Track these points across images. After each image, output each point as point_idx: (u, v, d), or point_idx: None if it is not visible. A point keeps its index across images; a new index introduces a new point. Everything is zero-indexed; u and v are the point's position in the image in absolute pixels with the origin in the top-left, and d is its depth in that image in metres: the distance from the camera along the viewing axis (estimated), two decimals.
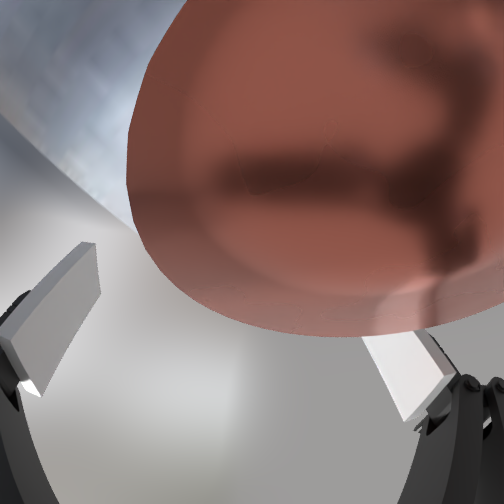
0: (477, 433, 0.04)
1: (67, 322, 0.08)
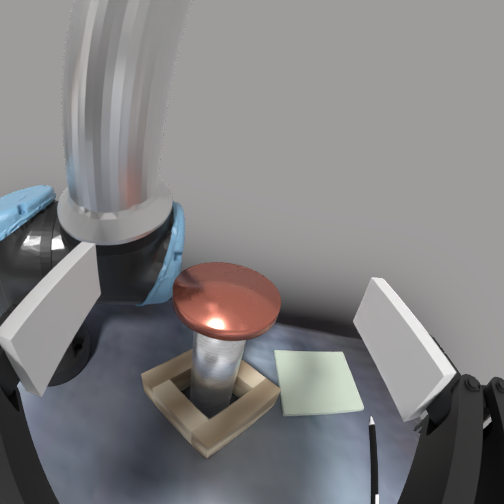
0: (477, 433, 0.04)
1: (67, 321, 0.08)
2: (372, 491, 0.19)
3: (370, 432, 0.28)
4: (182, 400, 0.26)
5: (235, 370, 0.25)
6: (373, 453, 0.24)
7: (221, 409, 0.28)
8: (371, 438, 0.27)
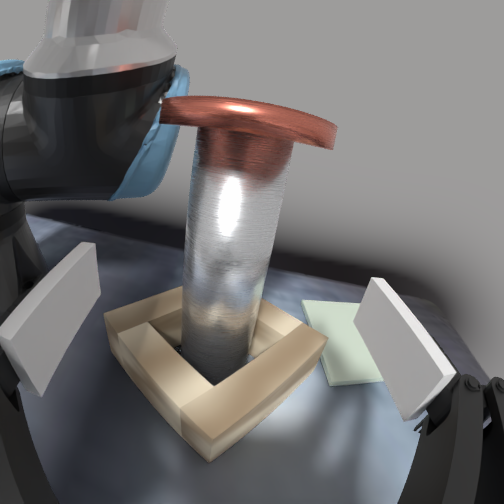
0: (477, 433, 0.04)
1: (67, 321, 0.08)
2: None
3: None
4: (166, 353, 0.15)
5: (261, 276, 0.15)
6: None
7: (233, 373, 0.18)
8: None
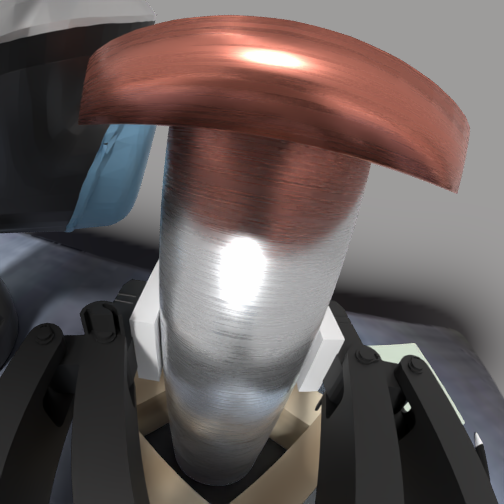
0: (385, 414, 0.05)
1: None
2: None
3: (479, 456, 0.11)
4: (152, 464, 0.09)
5: (290, 392, 0.08)
6: None
7: (242, 472, 0.11)
8: None
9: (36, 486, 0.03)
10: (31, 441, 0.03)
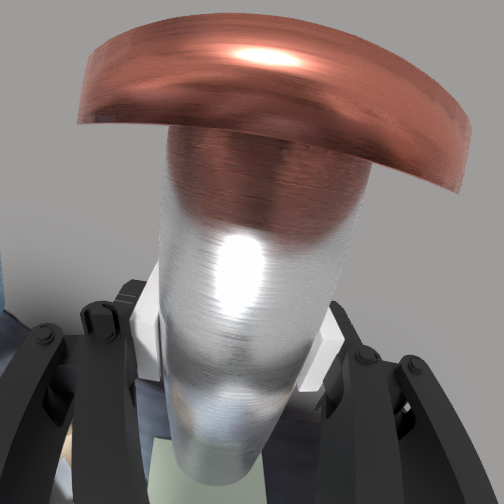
0: (385, 414, 0.05)
1: None
2: None
3: None
4: None
5: (290, 393, 0.08)
6: None
7: (242, 473, 0.11)
8: None
9: (36, 486, 0.03)
10: (31, 441, 0.03)
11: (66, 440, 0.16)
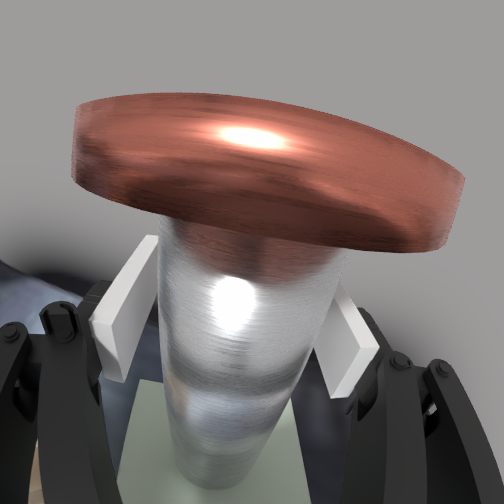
0: (415, 417, 0.05)
1: (142, 309, 0.10)
2: None
3: None
4: None
5: (283, 408, 0.08)
6: None
7: (240, 478, 0.11)
8: None
9: (14, 482, 0.02)
10: (4, 436, 0.03)
11: None
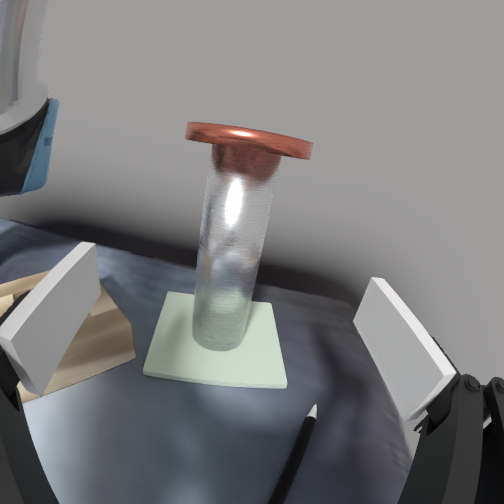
0: (477, 433, 0.04)
1: (67, 321, 0.08)
2: None
3: (302, 429, 0.17)
4: None
5: (257, 252, 0.20)
6: (289, 466, 0.14)
7: (234, 334, 0.23)
8: (298, 439, 0.16)
9: None
10: None
11: None
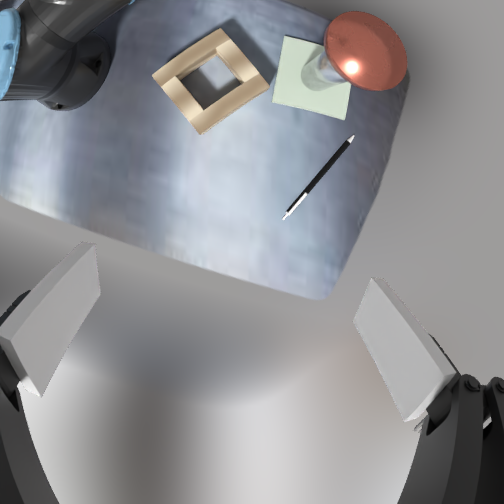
0: (477, 433, 0.04)
1: (67, 321, 0.08)
2: (306, 188, 0.43)
3: (342, 145, 0.40)
4: (184, 94, 0.32)
5: None
6: (330, 162, 0.41)
7: None
8: (338, 150, 0.40)
9: None
10: None
11: (224, 45, 0.29)
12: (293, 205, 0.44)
